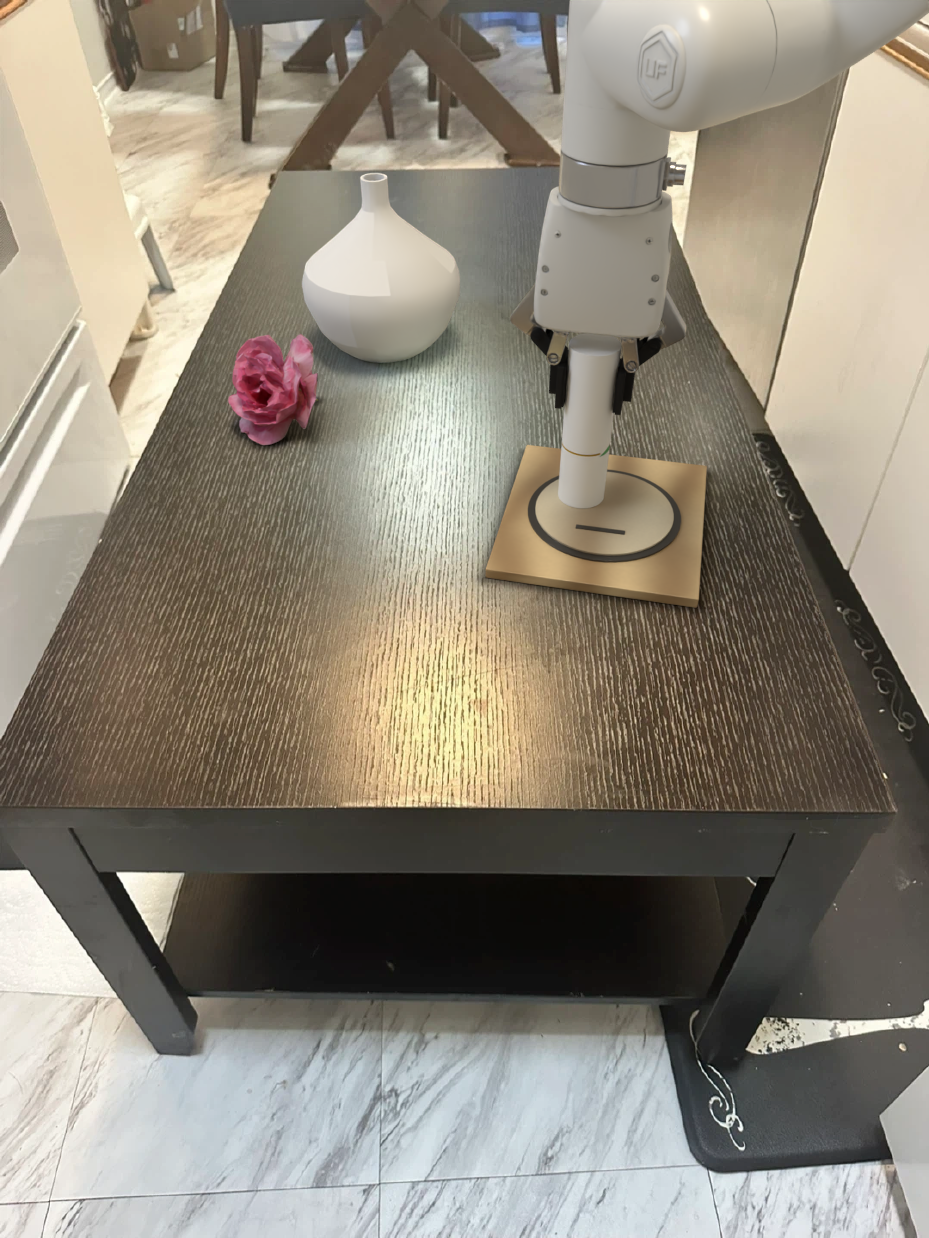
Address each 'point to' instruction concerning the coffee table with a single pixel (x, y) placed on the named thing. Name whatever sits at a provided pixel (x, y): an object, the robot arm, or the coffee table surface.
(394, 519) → the coffee table surface
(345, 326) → the vase
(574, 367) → the tube
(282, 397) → the flower
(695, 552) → the drawing board
